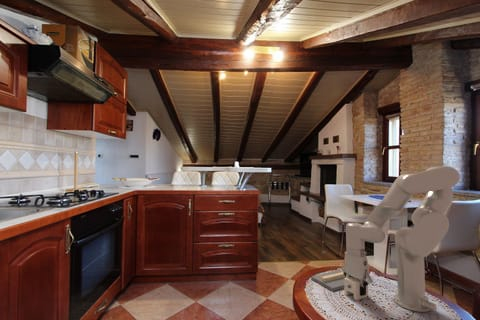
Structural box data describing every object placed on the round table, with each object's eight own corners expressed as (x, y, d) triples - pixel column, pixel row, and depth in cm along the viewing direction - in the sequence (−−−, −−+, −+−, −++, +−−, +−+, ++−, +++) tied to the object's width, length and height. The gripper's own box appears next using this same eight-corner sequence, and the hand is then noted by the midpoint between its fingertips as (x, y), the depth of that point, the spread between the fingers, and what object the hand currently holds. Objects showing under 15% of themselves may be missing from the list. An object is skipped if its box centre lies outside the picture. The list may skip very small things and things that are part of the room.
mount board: (361, 283, 119) (361, 276, 119) (332, 291, 110) (332, 284, 111) (338, 272, 132) (338, 266, 132) (311, 279, 123) (311, 272, 123)
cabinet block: (368, 296, 106) (367, 280, 107) (354, 300, 102) (354, 283, 103) (356, 290, 112) (356, 275, 112) (343, 294, 108) (343, 278, 108)
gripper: (378, 255, 102) (380, 298, 101) (345, 245, 118) (346, 282, 117) (367, 258, 99) (368, 302, 98) (334, 246, 115) (335, 285, 113)
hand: (356, 291), depth 107 cm, fingers closed on cabinet block, 6 cm apart
